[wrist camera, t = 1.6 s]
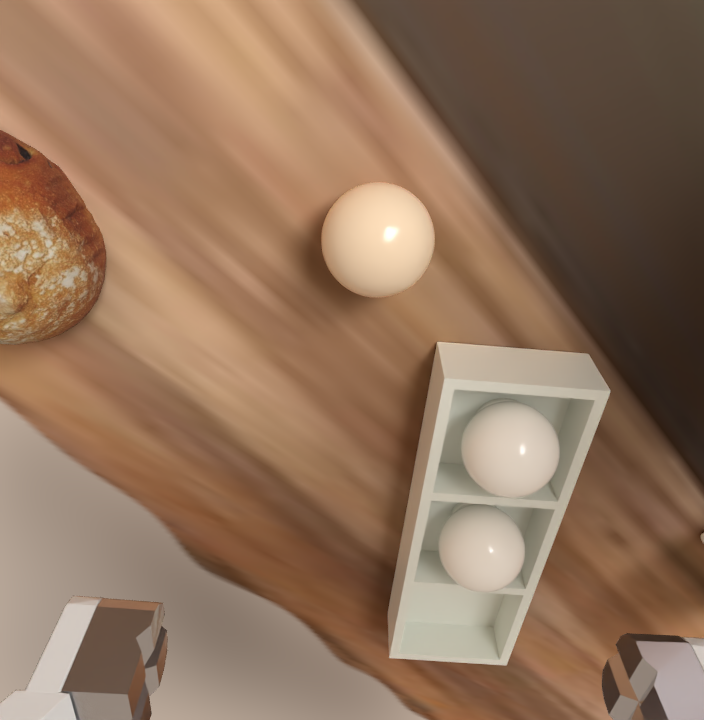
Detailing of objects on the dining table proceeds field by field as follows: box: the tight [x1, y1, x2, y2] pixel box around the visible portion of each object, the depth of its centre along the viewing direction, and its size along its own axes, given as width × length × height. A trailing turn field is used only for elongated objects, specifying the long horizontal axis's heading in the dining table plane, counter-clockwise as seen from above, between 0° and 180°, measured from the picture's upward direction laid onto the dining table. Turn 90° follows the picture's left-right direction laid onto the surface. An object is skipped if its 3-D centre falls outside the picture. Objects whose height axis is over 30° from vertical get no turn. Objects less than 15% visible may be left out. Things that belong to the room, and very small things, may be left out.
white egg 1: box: [461, 398, 560, 498], centre depth 32 cm, size 5×5×5 cm
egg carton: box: [388, 342, 611, 665], centre depth 37 cm, size 8×23×4 cm, turn 175°
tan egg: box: [321, 182, 435, 298], centre depth 27 cm, size 5×5×5 cm
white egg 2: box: [438, 503, 525, 593], centre depth 36 cm, size 5×5×5 cm
